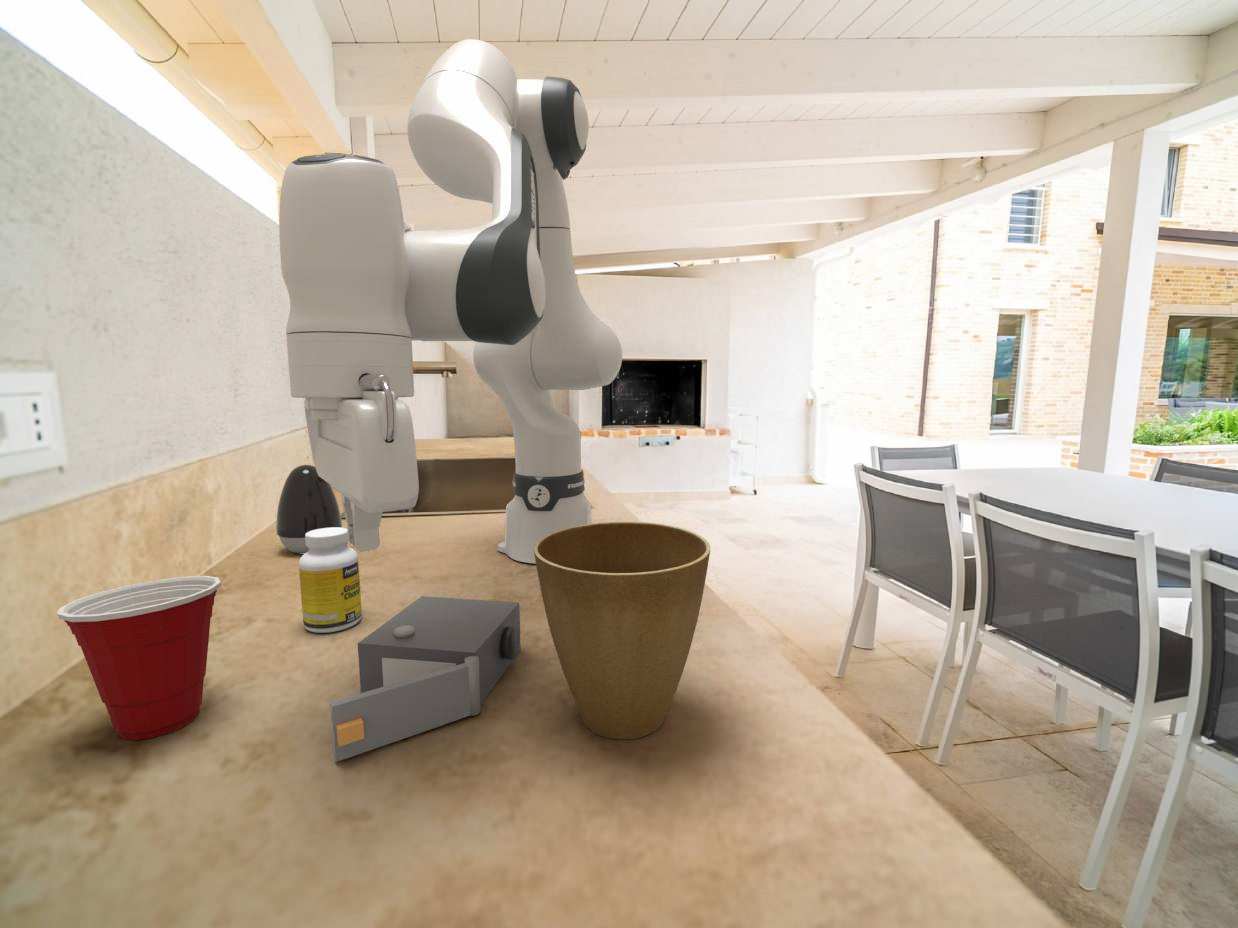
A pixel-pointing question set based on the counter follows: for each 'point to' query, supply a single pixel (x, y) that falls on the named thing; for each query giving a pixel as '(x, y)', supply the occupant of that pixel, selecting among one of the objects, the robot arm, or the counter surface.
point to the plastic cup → (147, 650)
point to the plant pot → (622, 617)
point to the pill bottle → (329, 581)
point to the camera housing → (441, 641)
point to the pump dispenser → (305, 508)
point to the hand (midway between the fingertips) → (364, 546)
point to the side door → (404, 709)
